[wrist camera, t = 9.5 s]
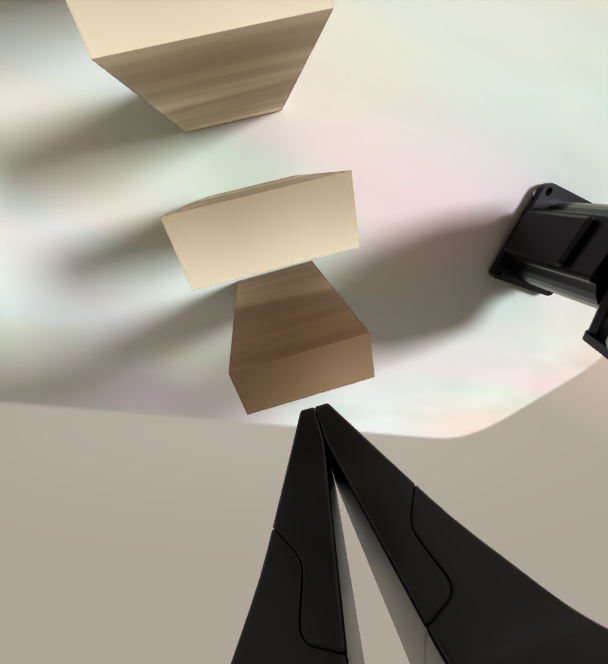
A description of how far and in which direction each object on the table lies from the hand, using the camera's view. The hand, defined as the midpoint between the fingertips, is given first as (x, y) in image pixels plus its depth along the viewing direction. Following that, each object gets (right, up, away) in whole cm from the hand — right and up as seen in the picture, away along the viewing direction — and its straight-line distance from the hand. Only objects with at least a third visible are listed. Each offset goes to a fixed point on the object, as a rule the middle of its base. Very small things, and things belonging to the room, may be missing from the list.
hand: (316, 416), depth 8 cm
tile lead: (-2, +6, +10) cm, 12 cm away
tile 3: (-4, +14, +5) cm, 16 cm away
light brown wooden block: (-3, +10, +8) cm, 13 cm away
